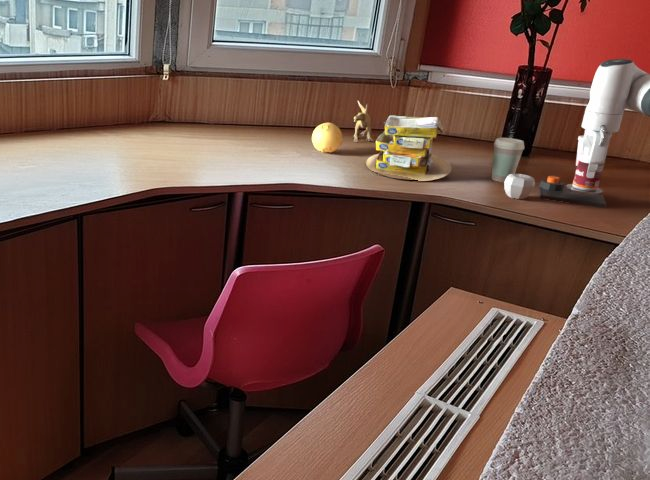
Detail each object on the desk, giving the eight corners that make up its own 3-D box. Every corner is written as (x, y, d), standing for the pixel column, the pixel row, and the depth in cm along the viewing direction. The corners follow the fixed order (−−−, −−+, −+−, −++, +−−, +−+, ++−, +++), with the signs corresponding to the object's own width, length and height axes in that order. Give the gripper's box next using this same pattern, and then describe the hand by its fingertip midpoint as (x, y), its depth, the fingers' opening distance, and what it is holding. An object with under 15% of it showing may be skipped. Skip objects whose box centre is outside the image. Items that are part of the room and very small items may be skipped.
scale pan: (600, 188, 198) (601, 186, 198) (604, 196, 191) (604, 194, 190) (564, 184, 201) (565, 182, 201) (566, 191, 194) (567, 189, 194)
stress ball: (308, 153, 237) (311, 123, 233) (312, 147, 246) (316, 118, 242) (338, 157, 234) (342, 126, 230) (342, 151, 243) (345, 121, 239)
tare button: (557, 182, 204) (559, 176, 204) (558, 185, 202) (559, 179, 201) (546, 181, 205) (547, 175, 205) (546, 183, 203) (548, 177, 202)
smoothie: (588, 170, 231) (599, 126, 226) (567, 165, 236) (578, 123, 231) (595, 167, 236) (606, 124, 230) (575, 163, 240) (585, 121, 235)
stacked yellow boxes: (435, 186, 205) (445, 128, 198) (353, 171, 217) (360, 116, 211) (458, 170, 224) (469, 117, 217) (382, 157, 236) (389, 106, 230)
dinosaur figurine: (349, 146, 250) (354, 107, 245) (352, 132, 274) (357, 96, 269) (371, 148, 249) (377, 109, 244) (373, 134, 272) (378, 98, 267)
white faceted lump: (504, 200, 194) (509, 176, 192) (497, 192, 202) (502, 169, 199) (535, 203, 193) (540, 179, 191) (527, 195, 200) (533, 172, 198)
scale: (600, 195, 203) (602, 185, 202) (605, 208, 191) (608, 197, 190) (538, 187, 209) (540, 177, 208) (539, 199, 197) (542, 188, 196)
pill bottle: (568, 184, 199) (578, 145, 195) (592, 186, 198) (602, 146, 194) (576, 190, 193) (586, 150, 189) (600, 192, 193) (611, 151, 188)
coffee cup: (515, 185, 210) (524, 144, 205) (484, 180, 214) (492, 140, 209) (518, 179, 217) (527, 139, 212) (488, 174, 220) (496, 135, 216)
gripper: (619, 130, 179) (605, 184, 184) (610, 118, 197) (597, 167, 202) (591, 127, 181) (578, 180, 186) (584, 115, 199) (572, 164, 204)
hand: (588, 173), depth 194 cm, fingers open, 7 cm apart
